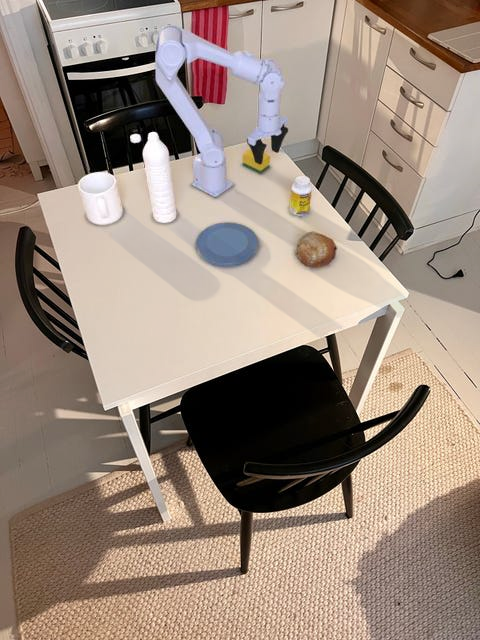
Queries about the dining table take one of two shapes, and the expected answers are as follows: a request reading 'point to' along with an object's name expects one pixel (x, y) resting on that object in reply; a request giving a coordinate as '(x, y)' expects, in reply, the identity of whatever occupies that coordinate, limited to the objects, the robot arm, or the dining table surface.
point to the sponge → (250, 163)
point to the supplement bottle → (300, 196)
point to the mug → (100, 198)
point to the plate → (227, 244)
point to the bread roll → (316, 250)
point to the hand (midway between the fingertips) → (266, 157)
